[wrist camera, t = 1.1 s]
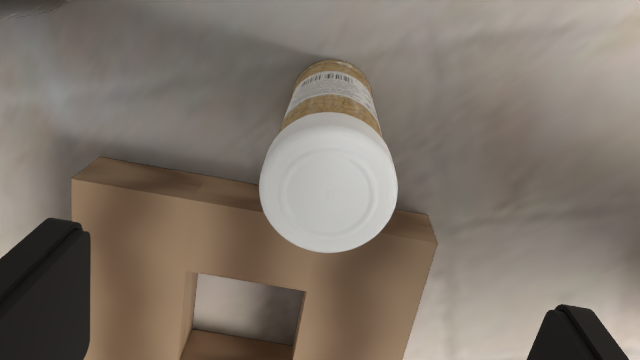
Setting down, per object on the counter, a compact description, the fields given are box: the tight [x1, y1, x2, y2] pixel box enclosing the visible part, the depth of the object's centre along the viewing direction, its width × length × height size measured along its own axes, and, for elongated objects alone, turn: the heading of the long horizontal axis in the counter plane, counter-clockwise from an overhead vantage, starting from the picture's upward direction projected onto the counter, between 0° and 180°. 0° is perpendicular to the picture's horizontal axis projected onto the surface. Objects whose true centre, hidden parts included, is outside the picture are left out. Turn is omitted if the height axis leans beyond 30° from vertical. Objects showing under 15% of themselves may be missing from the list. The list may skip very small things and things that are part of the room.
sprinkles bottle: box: [259, 60, 398, 253], centre depth 23 cm, size 5×5×13 cm
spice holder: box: [71, 157, 438, 360], centre depth 32 cm, size 20×16×4 cm
